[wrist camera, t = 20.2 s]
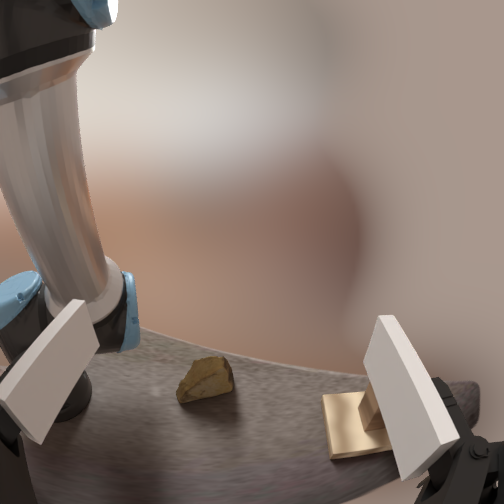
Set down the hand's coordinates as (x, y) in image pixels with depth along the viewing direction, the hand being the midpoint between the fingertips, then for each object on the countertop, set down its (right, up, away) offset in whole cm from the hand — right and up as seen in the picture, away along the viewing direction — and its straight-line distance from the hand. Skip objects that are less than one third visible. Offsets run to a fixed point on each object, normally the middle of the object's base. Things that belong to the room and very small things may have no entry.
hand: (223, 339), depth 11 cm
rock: (-7, -21, +34) cm, 40 cm away
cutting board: (+21, -25, +25) cm, 41 cm away
